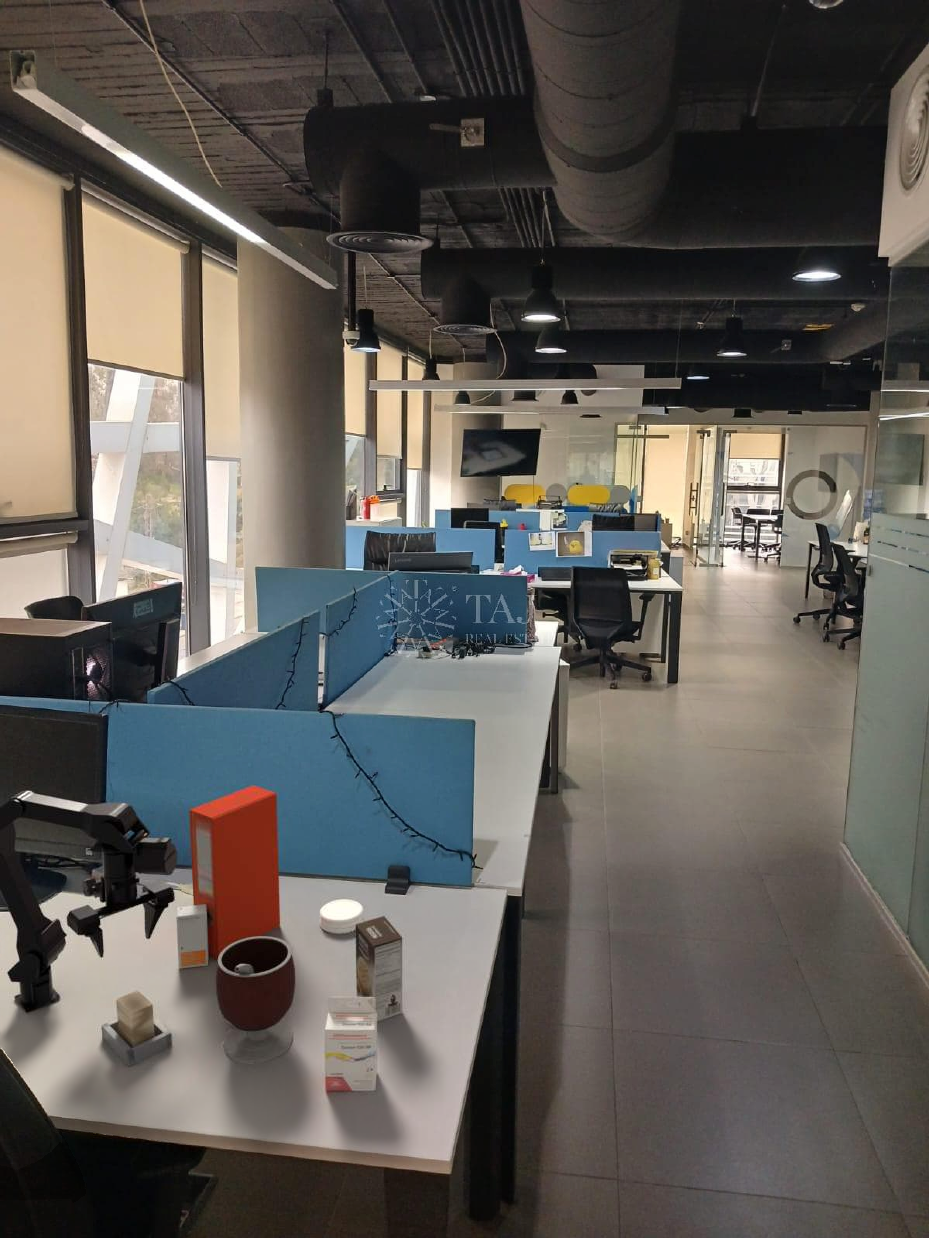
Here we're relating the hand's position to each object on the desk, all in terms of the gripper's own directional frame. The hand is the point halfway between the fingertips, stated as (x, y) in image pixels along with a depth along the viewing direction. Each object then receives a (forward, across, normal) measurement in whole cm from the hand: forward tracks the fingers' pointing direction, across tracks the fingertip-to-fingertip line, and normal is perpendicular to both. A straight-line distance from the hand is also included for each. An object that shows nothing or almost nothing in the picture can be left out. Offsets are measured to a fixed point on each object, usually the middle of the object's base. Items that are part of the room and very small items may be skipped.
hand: (124, 947), depth 168 cm
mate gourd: (+12, -11, +28) cm, 32 cm away
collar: (+12, +4, +12) cm, 17 cm away
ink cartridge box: (+12, -17, +48) cm, 52 cm away
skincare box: (+12, -16, -4) cm, 21 cm away
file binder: (+12, -28, -6) cm, 31 cm away
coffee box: (+12, -34, +35) cm, 50 cm away
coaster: (+12, -48, +5) cm, 50 cm away
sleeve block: (+12, +4, +12) cm, 17 cm away
